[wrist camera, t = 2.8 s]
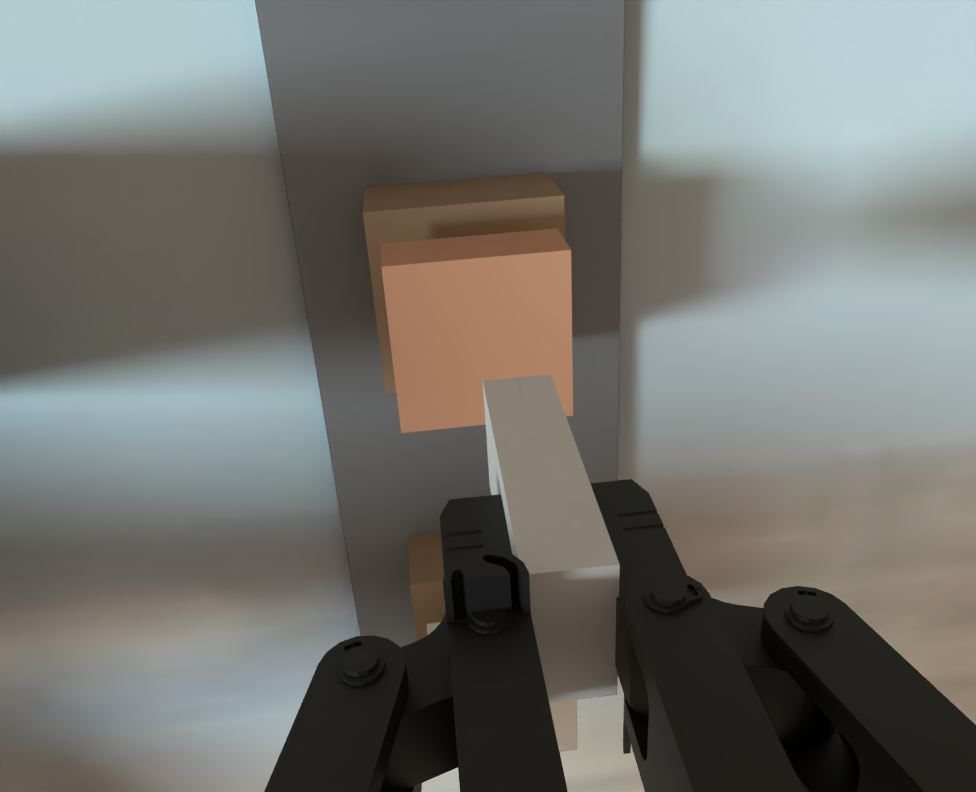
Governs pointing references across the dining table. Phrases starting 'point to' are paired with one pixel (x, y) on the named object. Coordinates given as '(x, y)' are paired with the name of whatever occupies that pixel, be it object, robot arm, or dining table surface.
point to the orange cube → (476, 321)
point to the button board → (440, 232)
